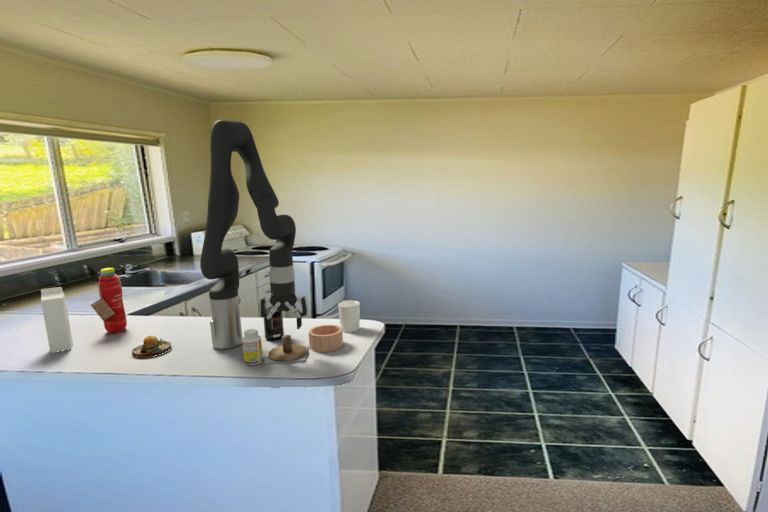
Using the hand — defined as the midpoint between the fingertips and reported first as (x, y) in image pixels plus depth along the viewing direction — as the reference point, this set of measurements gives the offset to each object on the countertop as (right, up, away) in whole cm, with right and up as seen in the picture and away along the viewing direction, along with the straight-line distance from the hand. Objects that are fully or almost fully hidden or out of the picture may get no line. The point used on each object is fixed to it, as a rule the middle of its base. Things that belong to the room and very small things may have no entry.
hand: (285, 328), depth 142 cm
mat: (+1, -9, +1) cm, 9 cm away
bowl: (+12, -7, +8) cm, 16 cm away
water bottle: (-73, -6, +30) cm, 79 cm away
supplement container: (-8, -6, +18) cm, 20 cm away
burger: (-47, -10, +9) cm, 49 cm away
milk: (-81, -10, +15) cm, 83 cm away
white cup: (+19, -4, +23) cm, 30 cm away
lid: (+1, -8, +1) cm, 8 cm away
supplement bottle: (-9, -10, -3) cm, 14 cm away
